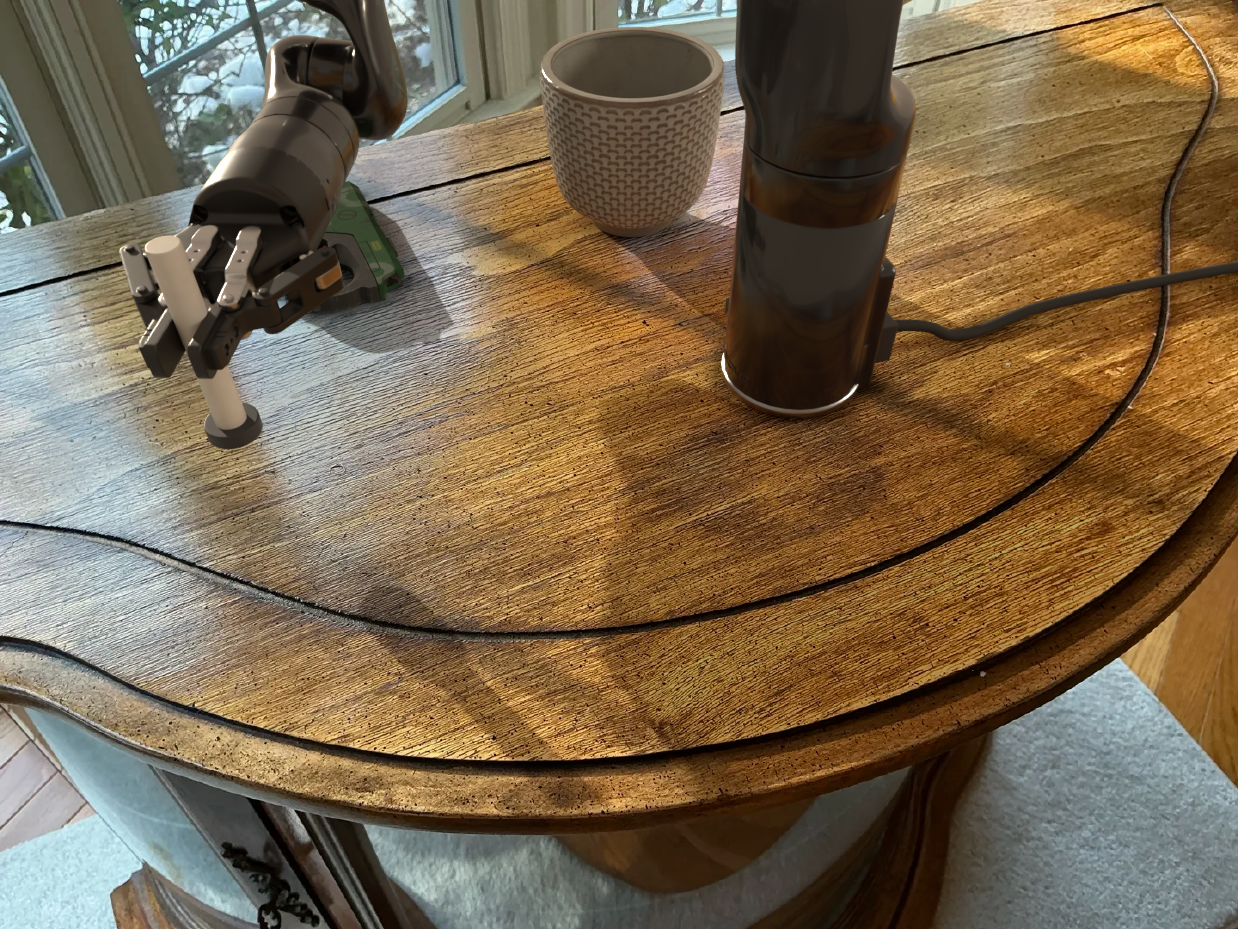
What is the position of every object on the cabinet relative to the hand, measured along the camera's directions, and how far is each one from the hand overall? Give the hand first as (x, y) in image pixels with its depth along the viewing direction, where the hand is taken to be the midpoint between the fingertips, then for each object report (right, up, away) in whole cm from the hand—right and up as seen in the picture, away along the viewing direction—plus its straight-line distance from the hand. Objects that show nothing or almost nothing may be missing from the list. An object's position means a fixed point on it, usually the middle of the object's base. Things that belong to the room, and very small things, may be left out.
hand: (177, 365), depth 52 cm
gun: (0, +11, +27) cm, 29 cm away
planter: (+24, +15, +31) cm, 42 cm away
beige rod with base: (0, -3, +7) cm, 8 cm away
